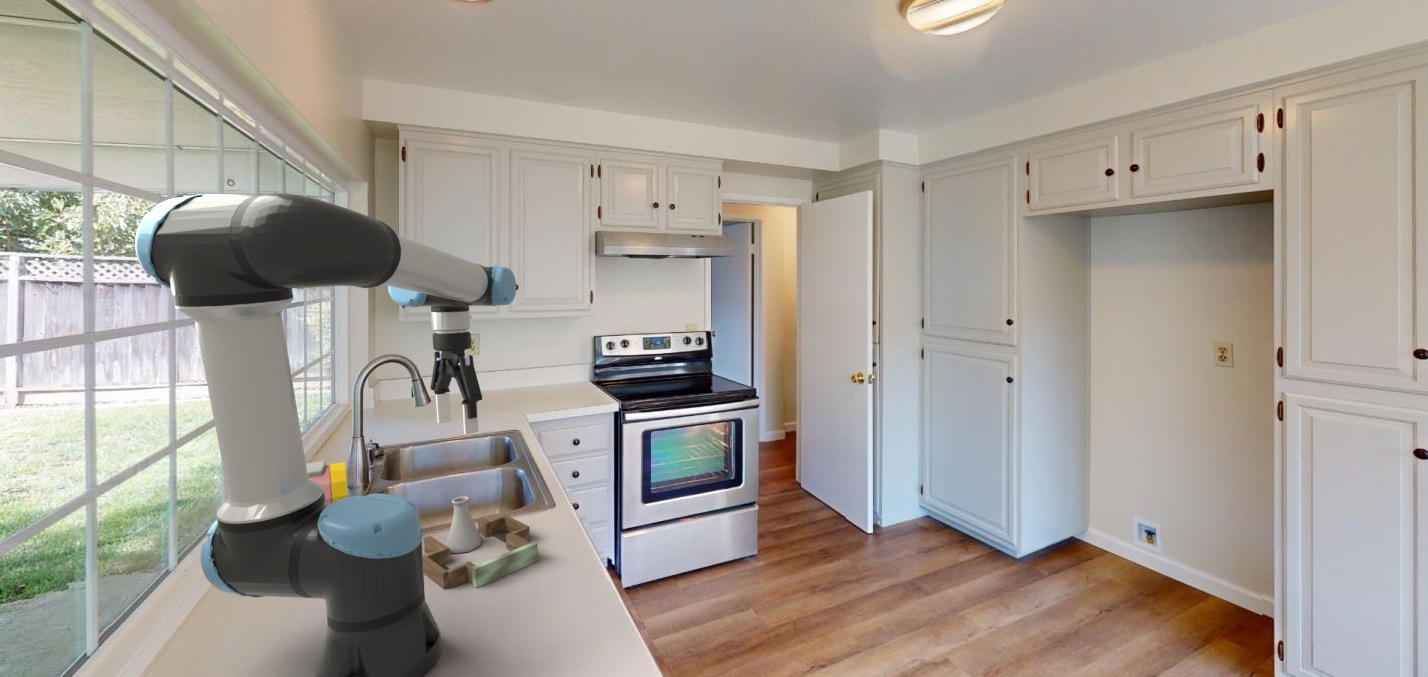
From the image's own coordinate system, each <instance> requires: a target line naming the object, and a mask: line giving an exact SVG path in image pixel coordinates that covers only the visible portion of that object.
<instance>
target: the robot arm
mask: <svg viewBox="0 0 1428 677" xmlns="http://www.w3.org/2000/svg"><path fill="white" fill-rule="evenodd" d="M134 239H135V241H134V242H135V243H134V248H135V252H136V257H137V260H138V263H139V264H140V266H141V268H142V269H143V271H144V272H145V273H146V275H148V276H151V277H153V280H154V281H155V282H156V283H157V284H160V285H161V286H164V287H166V288H168V289H170V290H171V294H172V297H173V304H174V308H175V309H176V310H177V311H179V312H181V313H182V314H184V315H186V316H188V317H190V318H191V319H192V320H193V321H194V324H195V329H196V334H197V338H198V344H199V349H200V354H201V355H200V356H201V359H202V365H203V368H204V374H205V375H204V376H205V380H206V385H207V386H206V387H207V390H208V396H209V401H210V407H211V411H212V417H213V422H214V427H215V432H216V433H215V434H216V437H217V442H218V447H219V452H220V458H221V463H222V468H223V474H224V479H225V484H226V489H227V495H228V498H227V500H225V502H224V503H223V504H221V506H220V507H219V508H218V509H217V511H216V520H215V521H214V522H213V523H212V524H211V526H210V527H209V529H208V530H207V533H206V536H207V537H208V538H207V540H206V541H204V542H202V544H201V548H200V554H199V555H200V567H201V570H202V573H203V574H204V576H205V578H206V580H207V581H208V582H209V583H210V584H211V585H212V586H213V587H214V588H215V589H216V590H219V591H220V592H224V593H227V594H231V595H232V594H234V595H238V596H241V597H250V598H263V597H272V598H273V597H275V598H276V597H277V598H299V599H301V598H302V599H320V600H321V599H323V600H324V601H325V608H326V609H325V610H326V621H327V628H326V632H325V635H324V639H323V641H322V646H321V649H320V653H319V654H318V659H317V662H316V666H315V672H314V673H315V674H314V677H424V676H425V675H427V673H428V672H429V671H431V669H432V668H434V666H435V665H436V663H437V662H438V660H439V659H440V656H441V654H442V649H443V648H442V635H441V630H440V628H439V625H438V623H437V622H436V620H435V618H434V617H435V616H433V613H432V611H431V609H430V607H429V605H428V603H427V600H426V594H425V575H424V573H423V556H424V555H423V542H422V540H423V538H424V537H423V536H424V535H423V529H422V526H421V522H420V514H419V510H418V509H417V507H416V505H415V504H414V503H413V502H412V501H411V500H409V499H407V498H405V497H403V496H400V495H399V496H398V495H396V494H389V493H369V494H367V495H361V494H358V495H353V496H348V497H347V498H344V499H341V500H338V501H336V502H334V503H332V504H330V505H328V506H326V501H325V496H324V489H323V486H322V485H321V484H319V483H317V482H315V481H313V480H310V479H309V478H308V473H307V467H306V464H307V462H306V456H305V450H304V444H303V436H302V431H301V425H300V418H299V412H298V407H297V400H296V394H295V388H294V383H293V376H292V369H291V364H290V357H289V351H288V347H287V346H288V345H287V339H286V338H287V337H286V333H285V327H284V321H283V314H282V313H283V312H284V310H285V309H286V308H287V307H288V306H289V305H290V304H291V303H292V302H293V301H294V292H293V289H304V288H319V287H338V286H339V287H357V288H363V289H375V288H378V287H381V286H387V290H388V294H389V296H390V298H391V299H392V301H393V302H394V303H396V304H397V305H399V306H401V307H409V308H419V307H430V321H431V322H430V323H431V331H434V332H433V334H432V348H433V350H434V354H433V356H434V362H433V370H432V375H431V382H430V390H431V391H433V393H434V395H435V405H436V420H437V424H444V423H450V422H452V416H451V402H450V401H451V400H450V398H451V397H450V396H451V395H450V393H451V390H450V388H449V387H450V384H451V381H452V378H454V379H455V381H456V384H457V386H458V388H459V391H460V394H461V397H462V398H463V400H462V401H461V405H462V418H463V419H462V420H463V434H464V435H469V434H474V433H475V434H476V433H479V418H478V403H479V402H480V401H482V400H483V394H482V391H481V388H480V384H479V381H478V375H477V373H476V368H475V365H474V364H475V362H474V357H473V355H472V354H471V355H466V352H465V351H466V350H469V349H471V348H472V334H471V332H470V331H468V330H470V328H471V319H472V315H470V307H471V306H475V307H477V306H478V307H479V306H481V307H482V306H483V307H484V306H485V307H489V306H490V307H492V306H493V307H498V306H508V305H511V304H512V303H513V301H514V300H515V298H516V293H517V281H516V277H515V274H514V273H513V271H512V269H510V268H509V267H506V266H497V265H493V266H484V265H481V264H478V263H475V262H472V261H469V260H467V259H464V258H461V257H458V256H455V255H454V254H450V253H447V252H445V251H443V250H440V249H437V248H434V247H431V246H429V245H425V244H422V243H420V242H418V241H415V240H412V239H410V238H407V237H404V236H402V235H398V233H397V232H396V230H395V229H394V228H393V227H392V226H391V225H389V224H388V223H386V222H384V221H382V220H379V219H376V218H373V217H371V216H369V215H366V214H364V213H360V212H358V211H356V210H352V209H349V208H346V207H343V206H340V205H337V204H333V203H331V202H329V201H328V202H327V201H323V200H321V199H317V198H313V197H309V196H305V195H301V194H300V195H299V194H293V193H278V192H277V193H273V192H272V193H267V194H265V193H262V194H261V193H259V194H253V193H252V194H248V193H247V194H245V193H244V194H240V193H239V194H232V193H231V194H230V193H229V194H225V193H224V194H222V193H221V194H219V193H218V194H217V193H216V194H213V193H212V194H211V193H204V194H203V193H202V194H199V193H198V194H195V195H190V196H180V197H174V198H170V199H167V200H165V201H162V202H160V203H158V204H157V205H155V206H154V207H153V208H152V209H151V210H150V211H149V212H148V213H146V214H145V215H144V216H143V217H142V219H141V220H140V223H139V225H138V227H137V230H136V234H135V238H134Z"/></svg>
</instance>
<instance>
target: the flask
mask: <svg viewBox="0 0 1428 677" xmlns="http://www.w3.org/2000/svg"><path fill="white" fill-rule="evenodd" d="M469 501H470V497H469V496H457V497H455V498H453V499H452V500H451V504H452V505H453V513H452V515H453V516H452V520H451V525H450V528H449V530H448V535H447V536H446V540H445V544H444V545H445V546H447V547H448V548H449V552H450V554H460V553H469V552H471V551H473V550H475V549H476V548H478V547H480V546H481V544H482V542H483V536H482V534H480V533H479V531H478V526H477V525H476V524H475V522H474V519H473V517H472V515H471V511H470V508H469Z"/></svg>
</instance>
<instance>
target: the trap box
mask: <svg viewBox="0 0 1428 677" xmlns="http://www.w3.org/2000/svg"><path fill="white" fill-rule="evenodd" d="M477 529H478V531H479V533H480V535H481V536H484V537H485V538H487V537H488V538H489V537H491V536H493V537H494V538H496V539H498V540H500V541H501V542H503V543H504V544H505V546H506V547H505V548H506V549H507V550H508V552H505V553H503V554H501V555H498V556H495V557H493V558H491V559H487V560H485V561H483V562H481V563H478V564H475V563H474V562H471V561H466V562H465V563H464V562H463V563H461V564H459V565H457V566H454V567H450V568H449V567H448V566H447V565H448V564H451V556H450V555H451V553H450V552H449V548H448V547H447V546H445V544H443V543H442V542H440V541H439V540H438V539H436V538H434V536H433V537H432V536H431V535H427V536H424V537H423V549H424V551H423V552H424V553H425V554H424V555H423V573H424V576H426V577H427V578H428V579H429V580H431V581H432V582H434V583H435V584H436V585H437V586H439V587H440V588H442V590H446V589H448V588H449V589H451V588H454V587H457V586H459V585H461V584H463V583H466V582H467V583H468V584H470V585H471V586H473V587H474V588H476V589H477V588H479V587H482V586H484V585H486V584H489V583H490V582H493V581H495V580H496V581H497V580H498V579H500V578H502V577H504V576H507V575H509V574H511V573H513V572H516V571H518V570H520V569H522V568H523V569H524V568H525V567H527V566H530V565H532V564H535V563H537V562H539V549H538V548H539V547H538V543H537V542H536V541H532V542H531V541H530V540H531V536H530V525H527V524H525V523H523V522H521V521H519V520H517V519H515V518H513V517H511V516H508V514H507V515H504V516H503V515H500V516H498V517H495V518H492V519H487V518H485V517H479V518H478V519H477Z"/></svg>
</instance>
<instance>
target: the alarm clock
mask: <svg viewBox="0 0 1428 677" xmlns="http://www.w3.org/2000/svg"><path fill="white" fill-rule="evenodd" d="M306 467H307V473H308V478H309V479H310V480H313V481H315V482H317V483H319V484H321V485H322V486H323V489H324V496H325V501H326V506H328V505H330V504H332V503H334V502H336V501H338V500H341V499H344V498H347V497H349V492H348V489H349V488H348V480H347V479H348V478H347V470H346V462H345V461H343V462H336V463H330V464H327V463H326V461H324V460H319V461H315V462H313V461H312V462H306Z"/></svg>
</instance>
